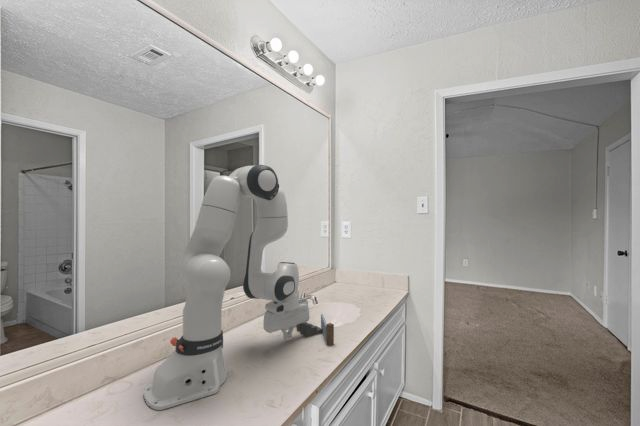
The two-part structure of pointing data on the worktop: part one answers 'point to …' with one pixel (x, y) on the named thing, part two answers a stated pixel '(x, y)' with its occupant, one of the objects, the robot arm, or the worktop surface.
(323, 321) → the door
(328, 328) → the door frame
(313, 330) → the doorstop wedge
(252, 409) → the worktop surface
